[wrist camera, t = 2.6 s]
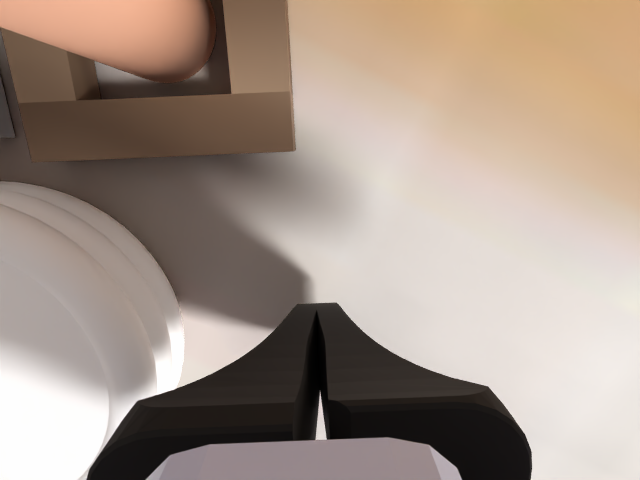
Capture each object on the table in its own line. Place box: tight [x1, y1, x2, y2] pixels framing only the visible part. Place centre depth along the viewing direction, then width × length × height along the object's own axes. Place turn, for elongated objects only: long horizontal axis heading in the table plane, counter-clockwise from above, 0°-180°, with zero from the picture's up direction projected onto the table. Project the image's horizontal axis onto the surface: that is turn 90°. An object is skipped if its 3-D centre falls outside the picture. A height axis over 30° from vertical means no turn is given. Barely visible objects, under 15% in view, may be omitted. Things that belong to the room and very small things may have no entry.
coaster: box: [0, 181, 185, 480], centre depth 11 cm, size 10×10×4 cm
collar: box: [0, 0, 296, 162], centre depth 10 cm, size 7×7×1 cm
